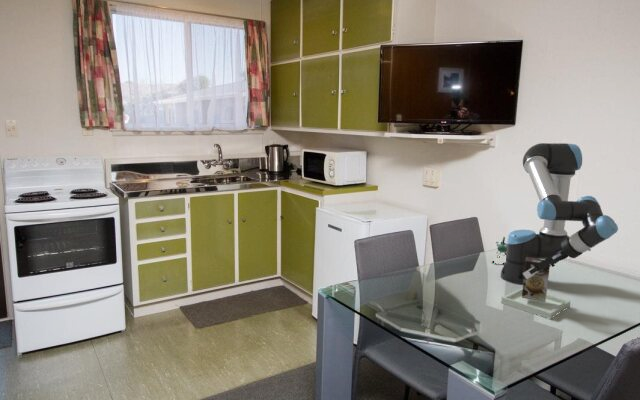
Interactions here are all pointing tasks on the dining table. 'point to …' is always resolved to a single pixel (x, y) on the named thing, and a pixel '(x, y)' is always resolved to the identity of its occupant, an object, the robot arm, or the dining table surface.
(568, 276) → the dining table surface
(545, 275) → the coffee box
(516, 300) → the tray
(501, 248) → the frog figurine
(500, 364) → the dining table surface
